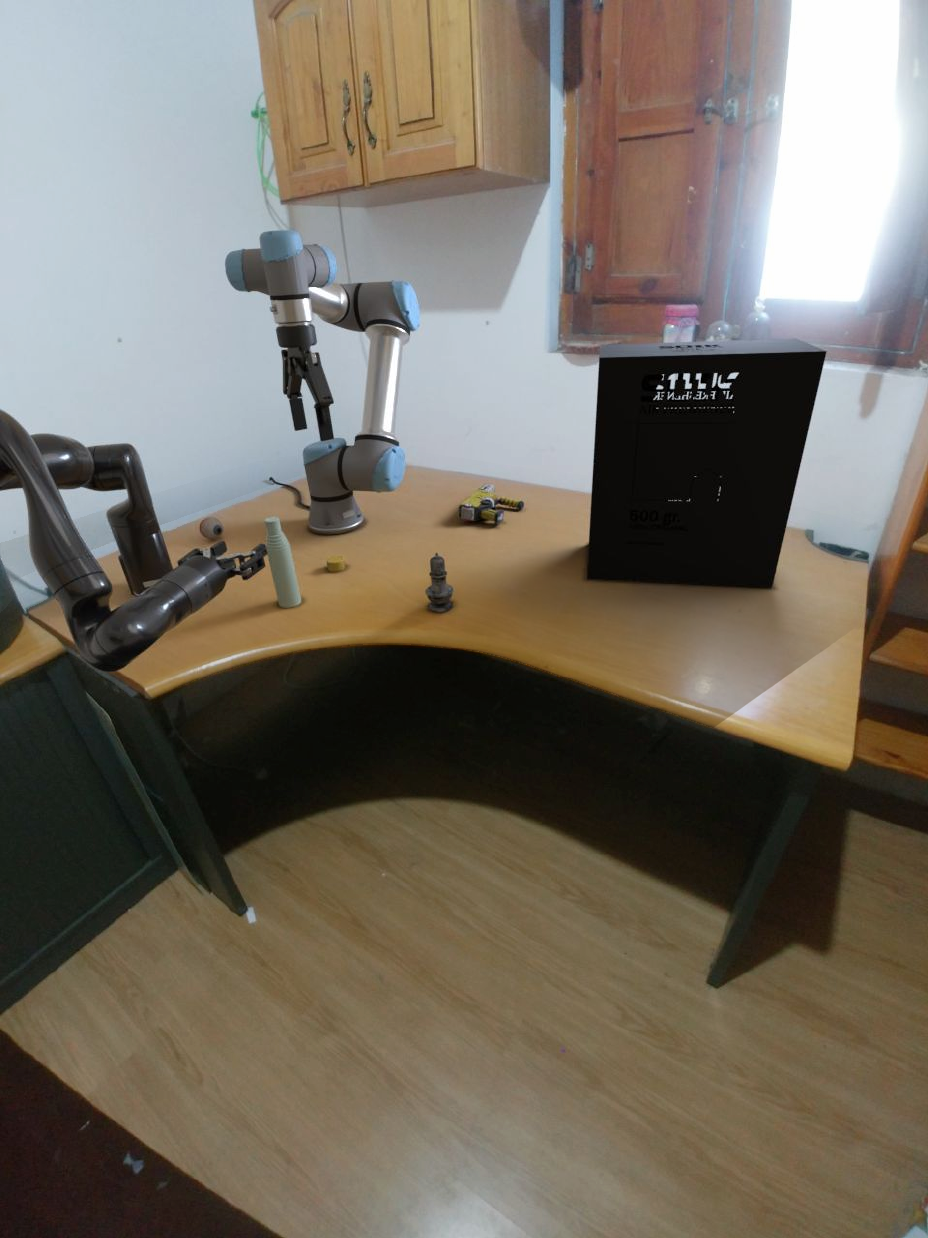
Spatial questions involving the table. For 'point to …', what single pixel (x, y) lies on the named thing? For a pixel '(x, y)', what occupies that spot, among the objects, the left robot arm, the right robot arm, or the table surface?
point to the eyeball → (211, 528)
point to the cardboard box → (698, 459)
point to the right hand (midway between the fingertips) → (313, 434)
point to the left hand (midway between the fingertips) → (244, 546)
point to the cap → (335, 563)
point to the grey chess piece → (439, 586)
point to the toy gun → (486, 505)
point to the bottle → (281, 565)
